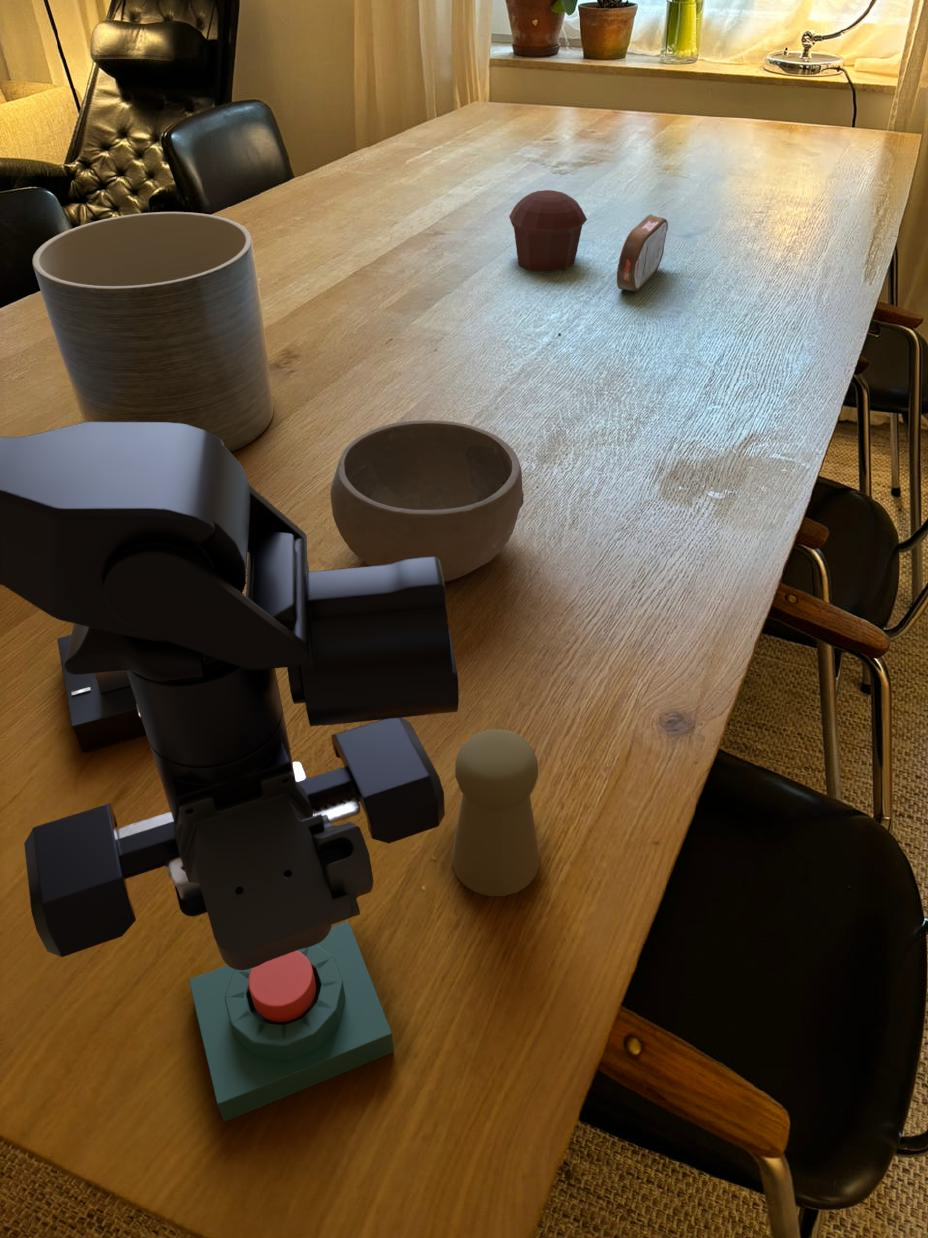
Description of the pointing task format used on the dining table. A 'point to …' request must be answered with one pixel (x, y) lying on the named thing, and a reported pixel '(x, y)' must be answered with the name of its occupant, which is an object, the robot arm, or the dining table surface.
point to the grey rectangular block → (112, 680)
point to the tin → (641, 253)
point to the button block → (290, 1028)
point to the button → (283, 987)
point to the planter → (161, 322)
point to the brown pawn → (496, 814)
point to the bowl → (427, 495)
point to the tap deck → (99, 709)
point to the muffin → (547, 230)
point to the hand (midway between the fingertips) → (266, 924)
